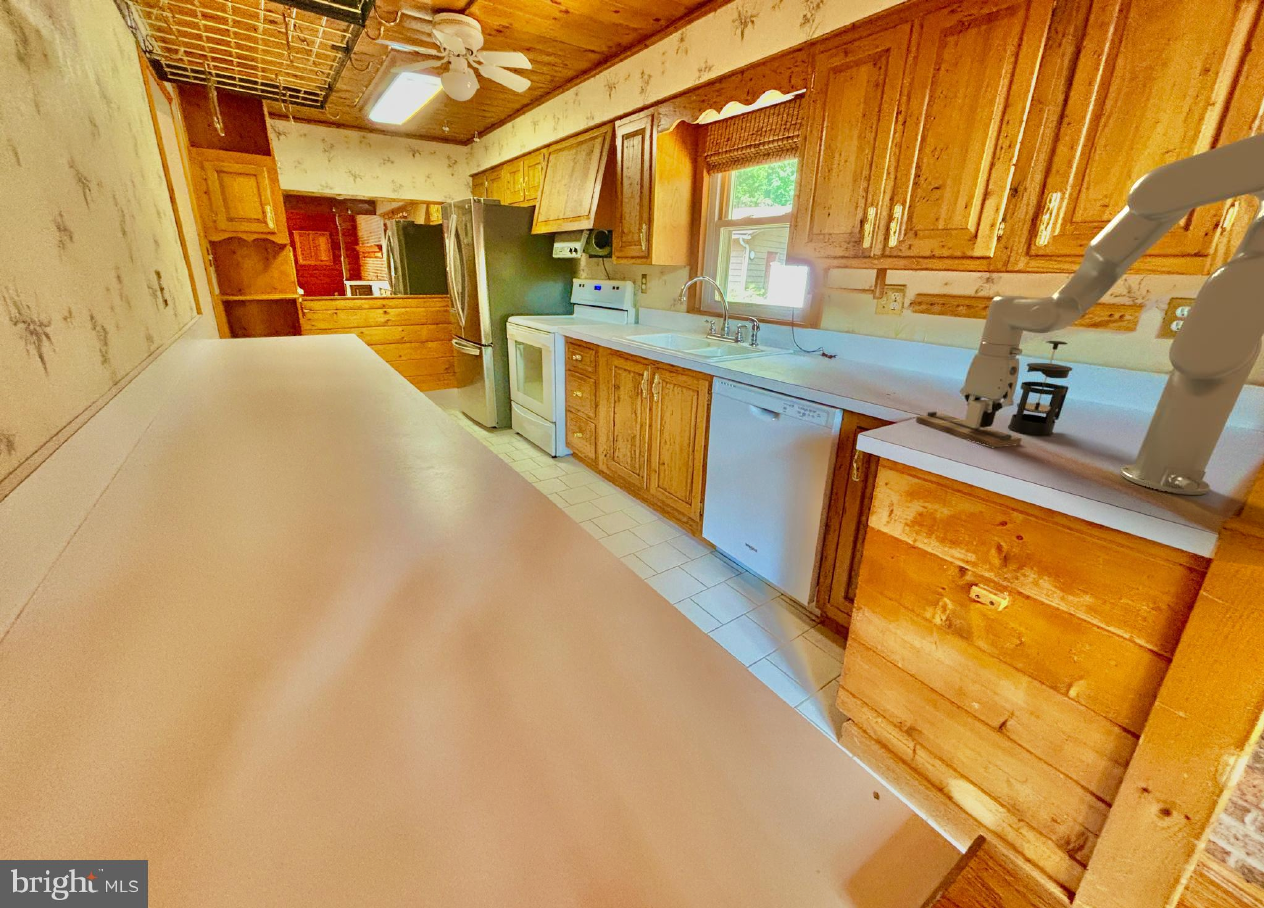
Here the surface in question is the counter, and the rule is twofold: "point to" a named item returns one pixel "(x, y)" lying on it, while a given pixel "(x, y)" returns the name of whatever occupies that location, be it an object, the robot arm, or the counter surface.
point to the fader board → (967, 430)
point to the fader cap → (976, 413)
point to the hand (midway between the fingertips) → (978, 423)
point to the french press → (1036, 423)
